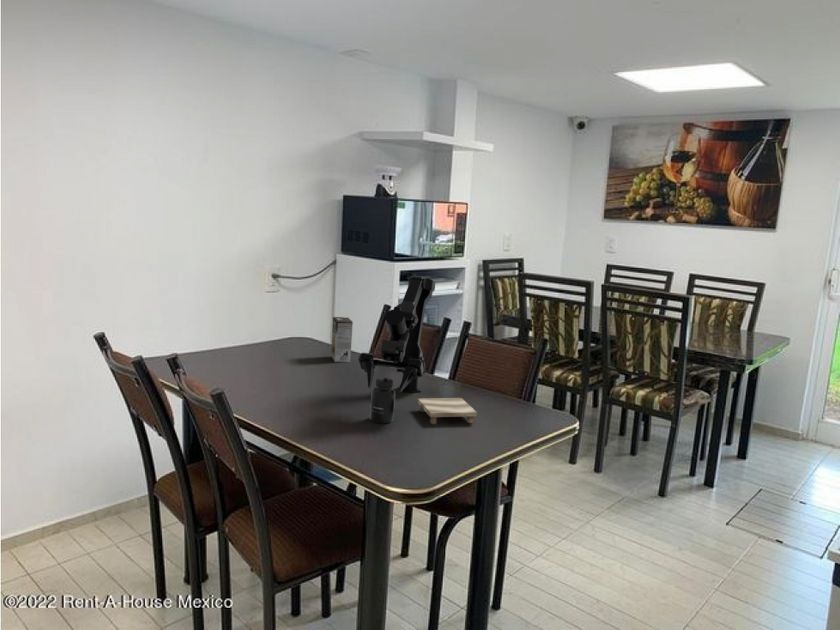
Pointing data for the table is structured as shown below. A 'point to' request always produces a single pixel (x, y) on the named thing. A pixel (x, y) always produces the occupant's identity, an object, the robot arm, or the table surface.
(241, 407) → the table surface
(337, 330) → the coffee box
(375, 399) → the supplement bottle
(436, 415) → the small stand
